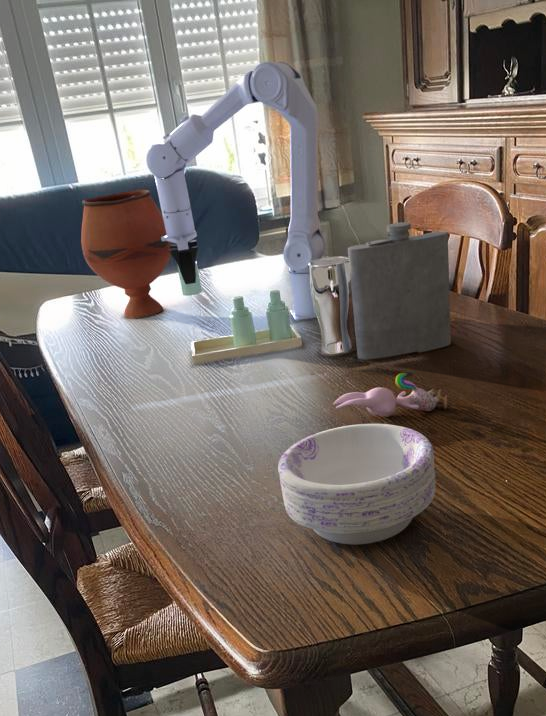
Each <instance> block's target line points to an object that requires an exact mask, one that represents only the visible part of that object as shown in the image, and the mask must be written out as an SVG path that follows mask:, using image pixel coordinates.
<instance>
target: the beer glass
mask: <svg viewBox="0 0 546 716" xmlns="http://www.w3.org/2000/svg"><path fill="white" fill-rule="evenodd" d="M309 267H310V287H311V295H312V300H313V304H314V308H315V312H316V315H317V317H316V318H317V322H318V325H319V329H320V330H319V331H320V337H321V341H320V342H321V343H320V353H321V354H322V355H325V356H330V357H331V356H332V357H334V356H336V357H337V356H343V355H344V356H345V355H348V354H351V353H353V352H355V351H357V345H356V340H355V337H354V334H353V316H354V312H353V301H352V290H351V279H350V268H349V257H348V256H344V255H342V256H341V255H336V256H335V255H334V256H326V257H321V258H320V259H316V260H313V261H311V262H310V263H309Z"/></svg>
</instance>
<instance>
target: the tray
mask: <svg viewBox="0 0 546 716" xmlns="http://www.w3.org/2000/svg"><path fill="white" fill-rule="evenodd" d="M290 325H291V332H292V338H291V339H285V340H279V341H273V342H270V336H269V329H268V328H264V329H259V330H255V337H256V343H257V344H255V345H249V346H243V347H237V348H235V347H234V341H233V335H232V334H229V335H228V334H227V335H223V336H217V337H216V336H215V337H210V338H203V339H199V340H198V339H197V340H194V341H190V348H191V358H192V362H193V365H198V364H205V363H211V362H217V361H223V360H229V359H235V358H241V357H247V356H253V355H259V354H260V355H261V354H265V353H271V352H278V351H282V350H288V349H293V348H294V349H296V348H300V347H303V340H302V337H301V335H300V333H299V331H298V330H297V328H296V326H295V324H290Z"/></svg>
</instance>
